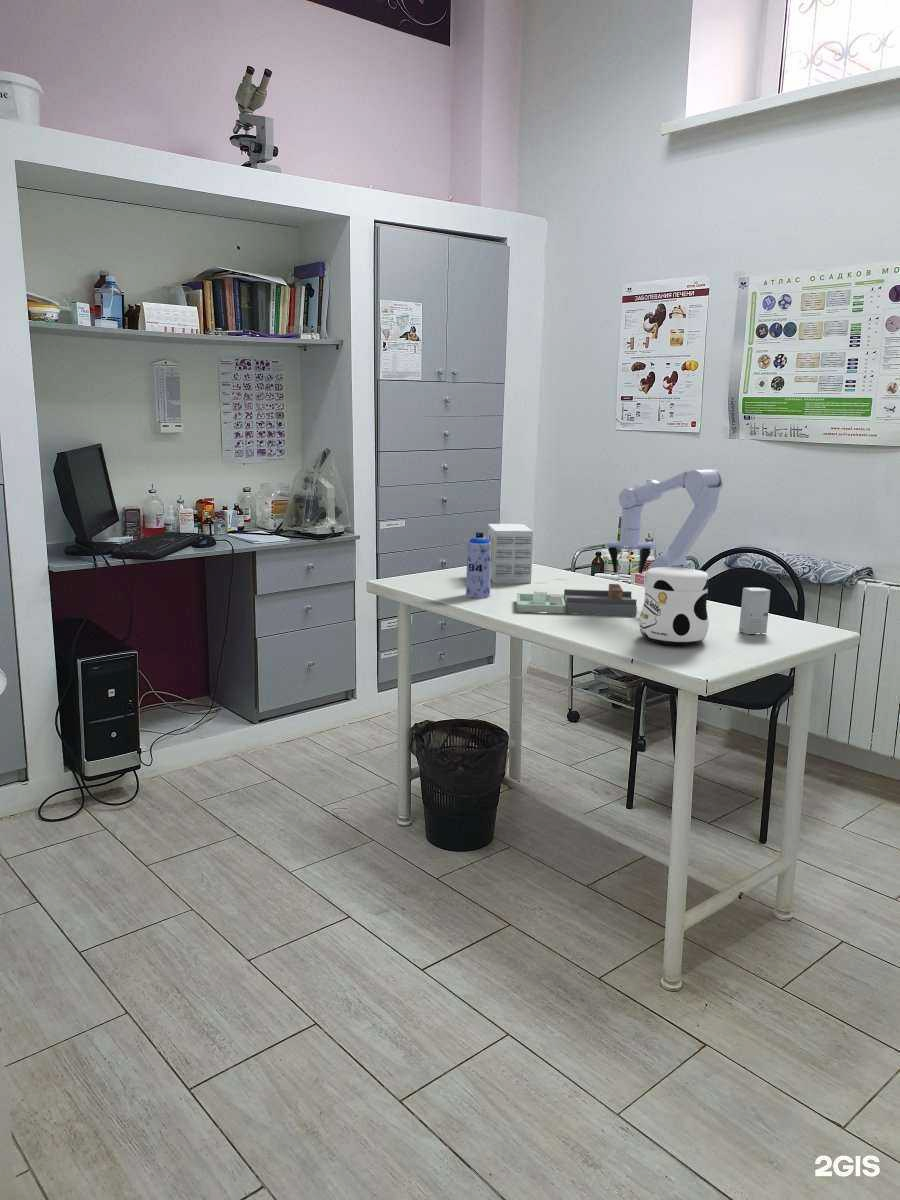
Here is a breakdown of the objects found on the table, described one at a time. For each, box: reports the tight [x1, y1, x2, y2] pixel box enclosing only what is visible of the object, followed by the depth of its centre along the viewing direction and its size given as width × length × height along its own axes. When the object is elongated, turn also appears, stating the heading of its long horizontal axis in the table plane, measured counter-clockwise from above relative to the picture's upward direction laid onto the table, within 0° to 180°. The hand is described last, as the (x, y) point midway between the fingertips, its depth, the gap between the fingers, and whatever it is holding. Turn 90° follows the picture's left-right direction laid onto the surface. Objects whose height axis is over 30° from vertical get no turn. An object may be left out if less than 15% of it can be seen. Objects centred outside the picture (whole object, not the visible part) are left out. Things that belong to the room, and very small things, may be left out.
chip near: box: [549, 593, 561, 605], centre depth 266 cm, size 4×4×3 cm
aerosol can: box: [465, 532, 491, 599], centre depth 283 cm, size 8×8×20 cm
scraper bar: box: [608, 583, 624, 599], centre depth 268 cm, size 3×9×4 cm, turn 176°
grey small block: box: [532, 591, 548, 605], centre depth 274 cm, size 4×4×3 cm
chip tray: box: [516, 592, 566, 613], centre depth 270 cm, size 14×16×2 cm
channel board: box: [563, 588, 638, 617], centre depth 269 cm, size 20×15×4 cm
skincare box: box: [738, 587, 771, 635], centre depth 243 cm, size 6×4×12 cm
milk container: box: [638, 567, 710, 646], centre depth 233 cm, size 17×17×18 cm
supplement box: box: [487, 523, 534, 584], centre depth 312 cm, size 17×13×18 cm
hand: (627, 572), depth 277 cm, fingers open, 7 cm apart
